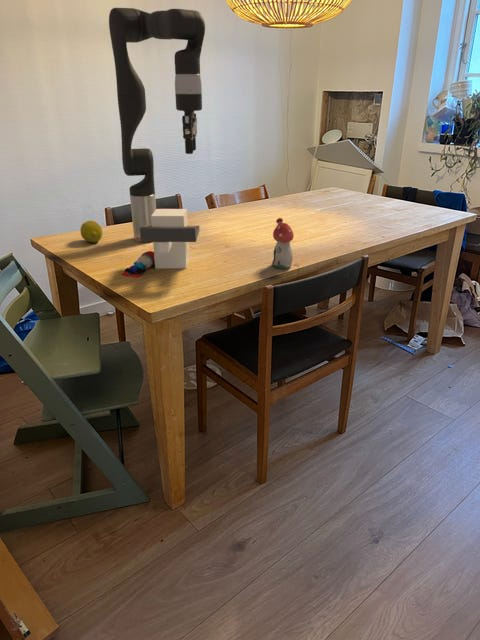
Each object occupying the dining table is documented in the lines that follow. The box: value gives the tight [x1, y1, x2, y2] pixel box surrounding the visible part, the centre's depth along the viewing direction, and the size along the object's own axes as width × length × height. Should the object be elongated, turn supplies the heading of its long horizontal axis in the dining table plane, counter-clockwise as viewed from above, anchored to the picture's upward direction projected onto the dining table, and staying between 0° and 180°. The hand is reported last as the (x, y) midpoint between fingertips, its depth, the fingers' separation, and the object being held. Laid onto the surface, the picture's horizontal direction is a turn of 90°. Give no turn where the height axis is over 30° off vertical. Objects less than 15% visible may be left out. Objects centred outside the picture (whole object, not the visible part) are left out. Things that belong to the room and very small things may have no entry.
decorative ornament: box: [271, 217, 294, 270], centre depth 153 cm, size 9×7×15 cm
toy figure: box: [121, 250, 155, 279], centre depth 153 cm, size 8×5×15 cm
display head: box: [135, 208, 197, 269], centre depth 149 cm, size 22×18×17 cm
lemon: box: [80, 220, 103, 244], centre depth 180 cm, size 11×8×8 cm
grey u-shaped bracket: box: [140, 225, 200, 243], centre depth 144 cm, size 13×16×4 cm
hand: (190, 152), depth 143 cm, fingers open, 8 cm apart
